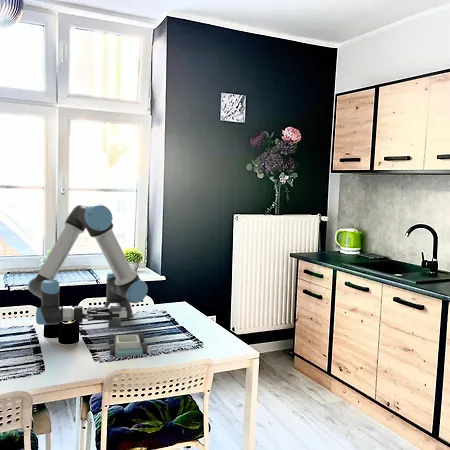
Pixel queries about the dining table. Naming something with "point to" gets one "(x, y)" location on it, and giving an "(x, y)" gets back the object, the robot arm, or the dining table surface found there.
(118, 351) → the chassis
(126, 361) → the dining table surface
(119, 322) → the grey upright block
